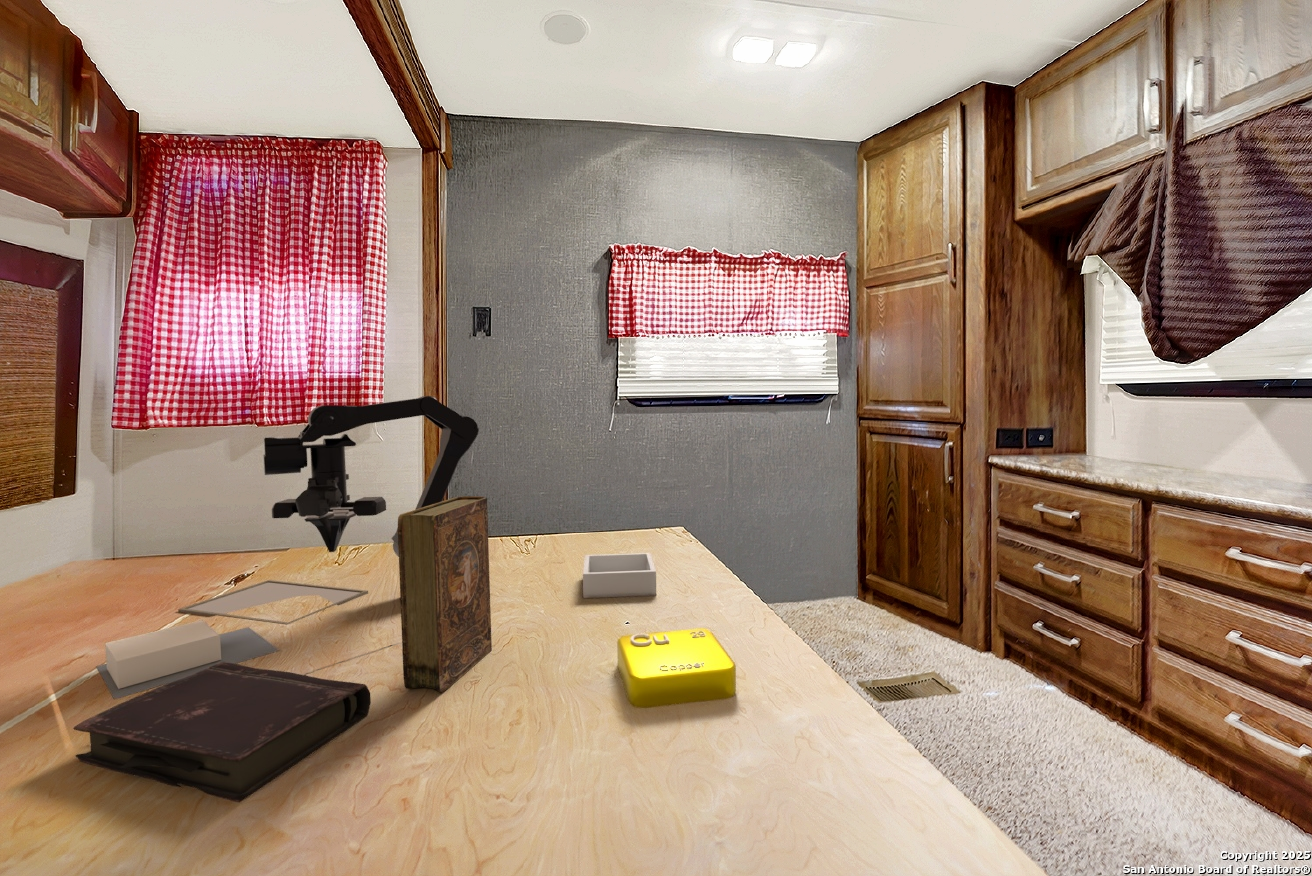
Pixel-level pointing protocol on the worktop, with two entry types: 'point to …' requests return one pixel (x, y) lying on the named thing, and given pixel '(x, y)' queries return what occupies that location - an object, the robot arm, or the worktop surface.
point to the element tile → (675, 668)
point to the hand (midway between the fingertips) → (332, 551)
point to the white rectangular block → (161, 653)
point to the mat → (233, 650)
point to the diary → (224, 728)
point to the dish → (619, 575)
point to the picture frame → (269, 598)
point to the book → (444, 591)
